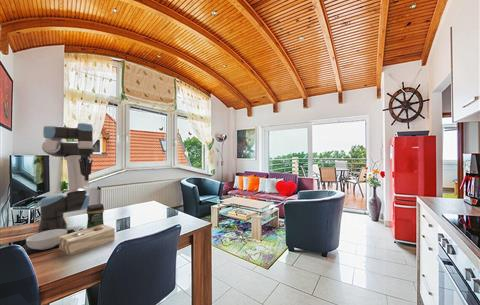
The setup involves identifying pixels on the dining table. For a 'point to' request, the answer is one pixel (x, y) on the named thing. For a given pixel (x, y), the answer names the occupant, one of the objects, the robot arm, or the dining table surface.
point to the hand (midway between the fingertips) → (85, 185)
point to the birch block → (86, 239)
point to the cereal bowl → (45, 239)
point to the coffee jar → (95, 215)
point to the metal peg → (77, 235)
